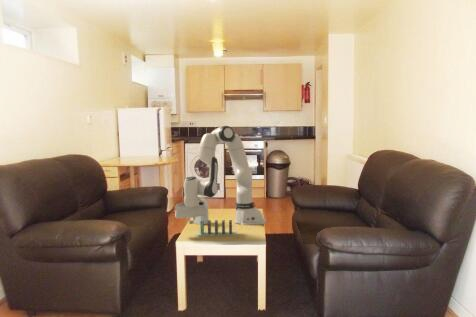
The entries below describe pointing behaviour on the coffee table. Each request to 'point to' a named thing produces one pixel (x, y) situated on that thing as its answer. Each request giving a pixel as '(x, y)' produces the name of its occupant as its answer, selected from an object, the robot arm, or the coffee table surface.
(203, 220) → the domino
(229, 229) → the domino
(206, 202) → the milk carton
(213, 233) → the runner mat
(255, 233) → the coffee table surface
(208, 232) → the domino
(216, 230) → the domino
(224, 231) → the domino
